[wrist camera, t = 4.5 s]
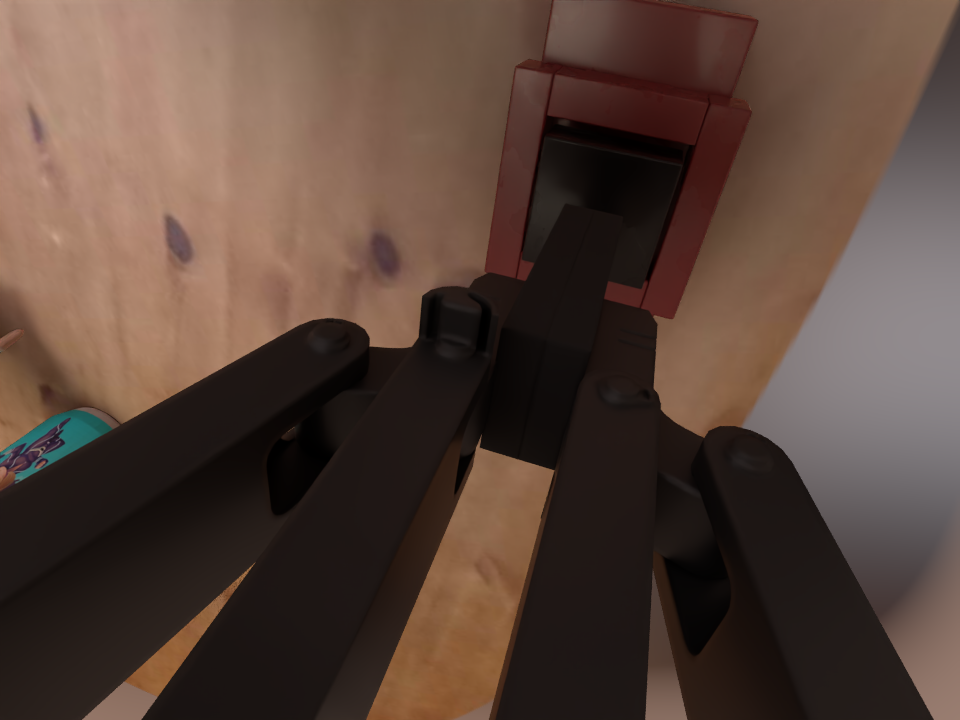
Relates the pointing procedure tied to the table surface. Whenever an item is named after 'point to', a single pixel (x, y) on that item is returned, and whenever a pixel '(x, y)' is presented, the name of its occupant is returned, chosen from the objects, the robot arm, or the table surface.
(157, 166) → the table surface
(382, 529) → the robot arm
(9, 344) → the toy
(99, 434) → the beverage can
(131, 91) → the table surface
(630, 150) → the black square panel
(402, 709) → the table surface
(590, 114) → the wooden frame
